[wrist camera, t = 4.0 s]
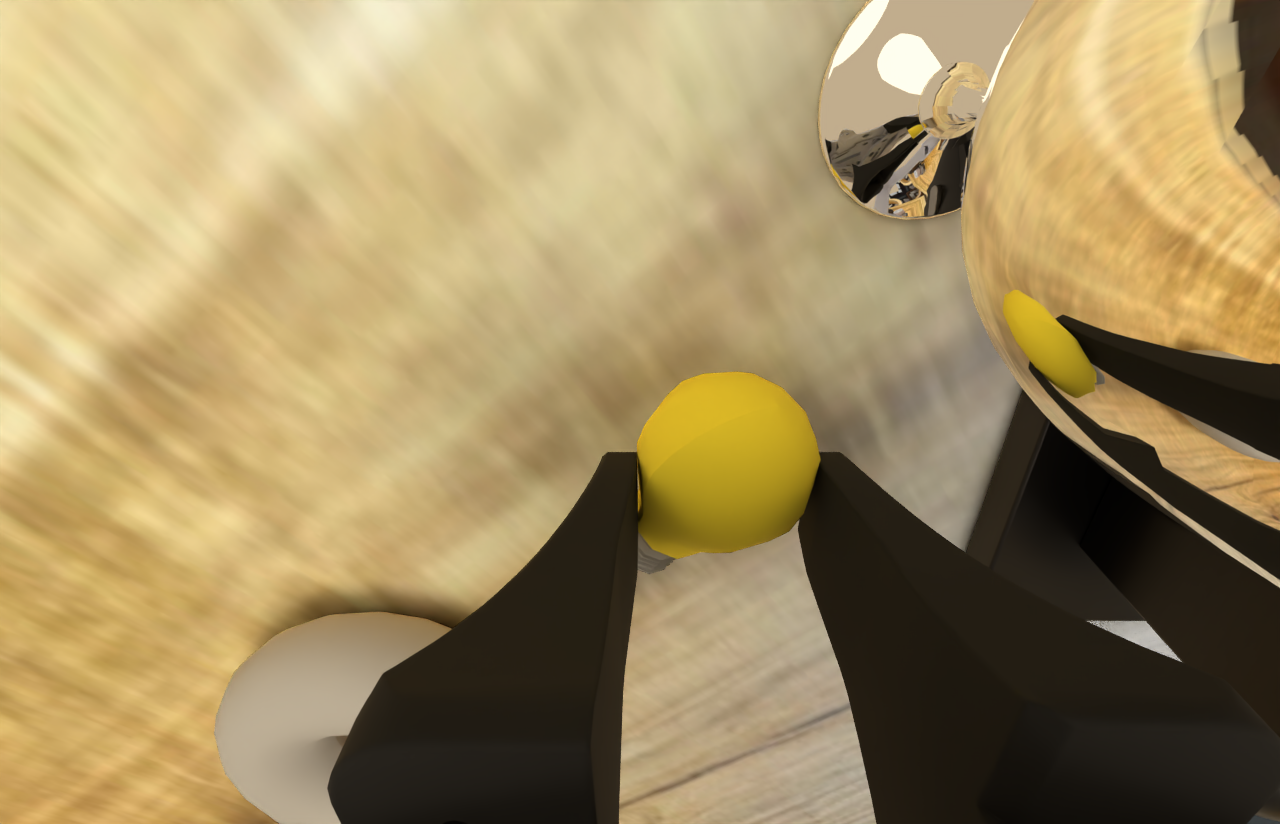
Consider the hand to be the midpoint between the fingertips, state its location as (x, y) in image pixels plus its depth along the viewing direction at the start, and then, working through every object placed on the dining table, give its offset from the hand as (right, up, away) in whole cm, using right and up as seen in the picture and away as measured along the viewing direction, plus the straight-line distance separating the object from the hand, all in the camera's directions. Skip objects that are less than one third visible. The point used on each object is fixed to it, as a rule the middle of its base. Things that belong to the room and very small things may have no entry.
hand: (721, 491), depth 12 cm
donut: (-10, -8, +8) cm, 15 cm away
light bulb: (0, +1, +2) cm, 2 cm away
